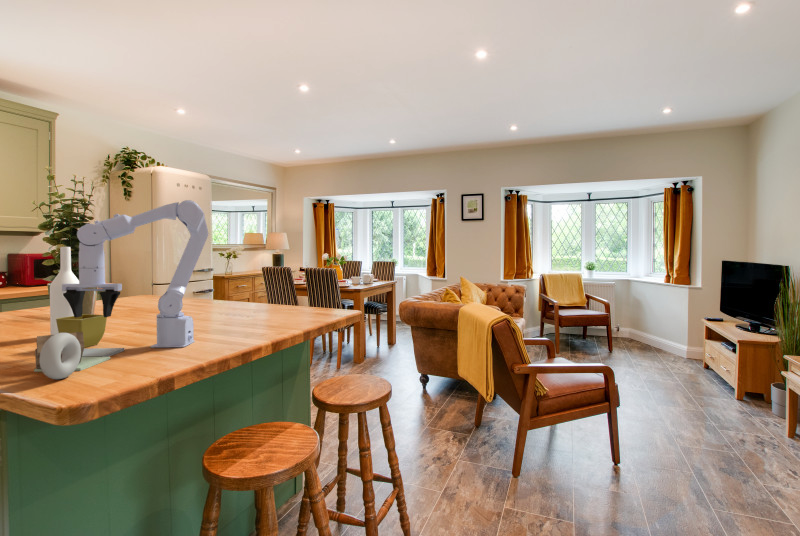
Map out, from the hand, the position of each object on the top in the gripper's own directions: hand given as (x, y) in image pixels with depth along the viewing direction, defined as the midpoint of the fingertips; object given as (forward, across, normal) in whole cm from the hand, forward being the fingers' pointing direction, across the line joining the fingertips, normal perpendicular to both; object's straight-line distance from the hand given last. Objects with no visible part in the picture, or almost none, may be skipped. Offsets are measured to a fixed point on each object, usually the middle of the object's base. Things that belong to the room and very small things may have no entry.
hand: (92, 316), depth 112 cm
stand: (+10, 0, +4) cm, 11 cm away
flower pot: (+10, +8, -8) cm, 15 cm away
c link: (+7, -5, +20) cm, 22 cm away
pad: (+10, -4, +14) cm, 18 cm away
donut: (+10, -10, +26) cm, 29 cm away
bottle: (+10, +22, -22) cm, 33 cm away
